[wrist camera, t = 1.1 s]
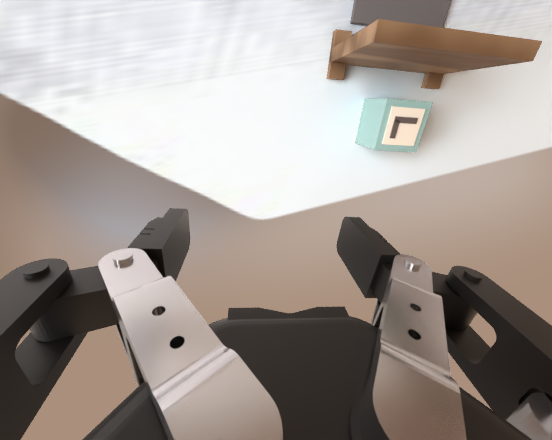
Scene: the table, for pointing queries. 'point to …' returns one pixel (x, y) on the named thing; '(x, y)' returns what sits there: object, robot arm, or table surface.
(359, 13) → the mat
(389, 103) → the letter cube
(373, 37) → the wooden footed board
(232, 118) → the table surface
